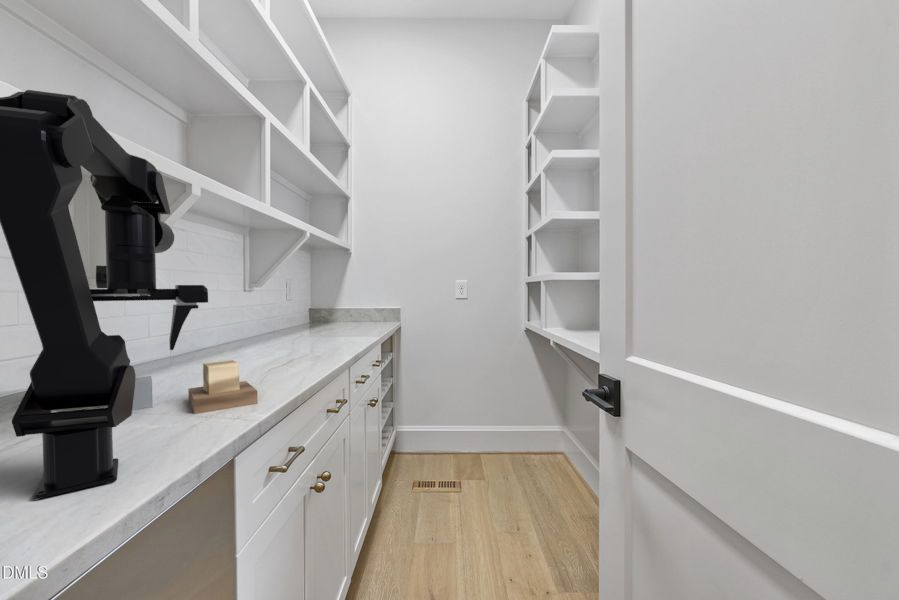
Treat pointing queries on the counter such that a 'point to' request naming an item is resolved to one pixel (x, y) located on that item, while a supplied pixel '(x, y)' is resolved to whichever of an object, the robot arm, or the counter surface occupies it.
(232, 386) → the maple cube
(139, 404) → the slate cube
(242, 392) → the walnut block
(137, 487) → the counter surface
